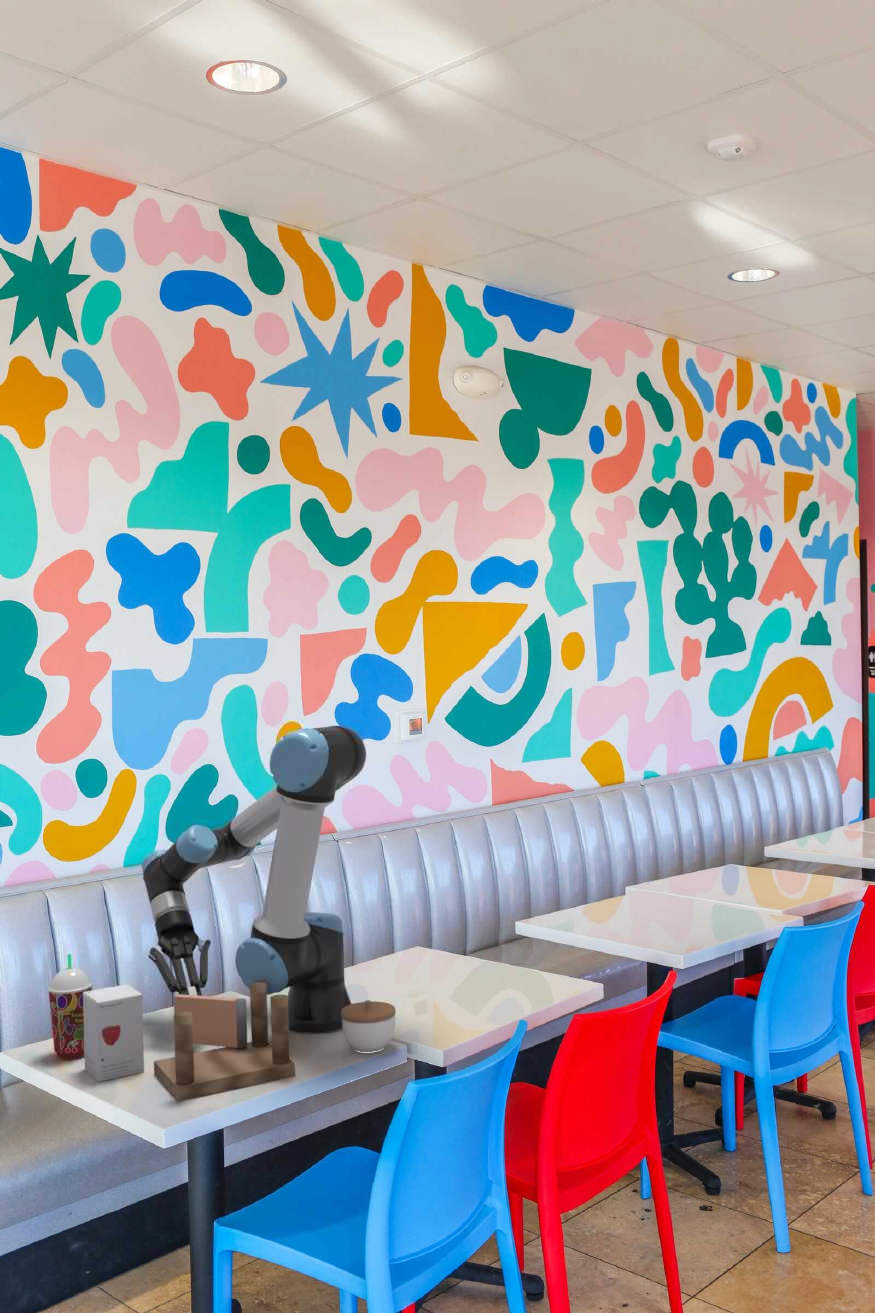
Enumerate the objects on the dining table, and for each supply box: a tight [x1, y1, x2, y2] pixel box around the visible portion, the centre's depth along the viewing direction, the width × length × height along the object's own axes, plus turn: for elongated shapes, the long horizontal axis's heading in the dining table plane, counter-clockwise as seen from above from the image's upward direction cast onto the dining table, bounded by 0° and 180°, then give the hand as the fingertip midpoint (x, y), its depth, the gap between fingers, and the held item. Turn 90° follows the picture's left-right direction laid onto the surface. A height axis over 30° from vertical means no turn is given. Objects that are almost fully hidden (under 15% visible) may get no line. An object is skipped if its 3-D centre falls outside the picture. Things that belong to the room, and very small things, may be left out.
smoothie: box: [47, 953, 93, 1060], centre depth 231 cm, size 8×8×20 cm
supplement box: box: [83, 984, 145, 1083], centre depth 221 cm, size 9×9×15 cm
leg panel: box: [173, 993, 248, 1048], centre depth 227 cm, size 15×2×9 cm, turn 71°
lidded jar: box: [341, 999, 396, 1052], centre depth 230 cm, size 11×11×9 cm
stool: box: [153, 981, 296, 1102], centre depth 217 cm, size 22×16×14 cm
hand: (197, 1019), depth 230 cm, fingers closed
